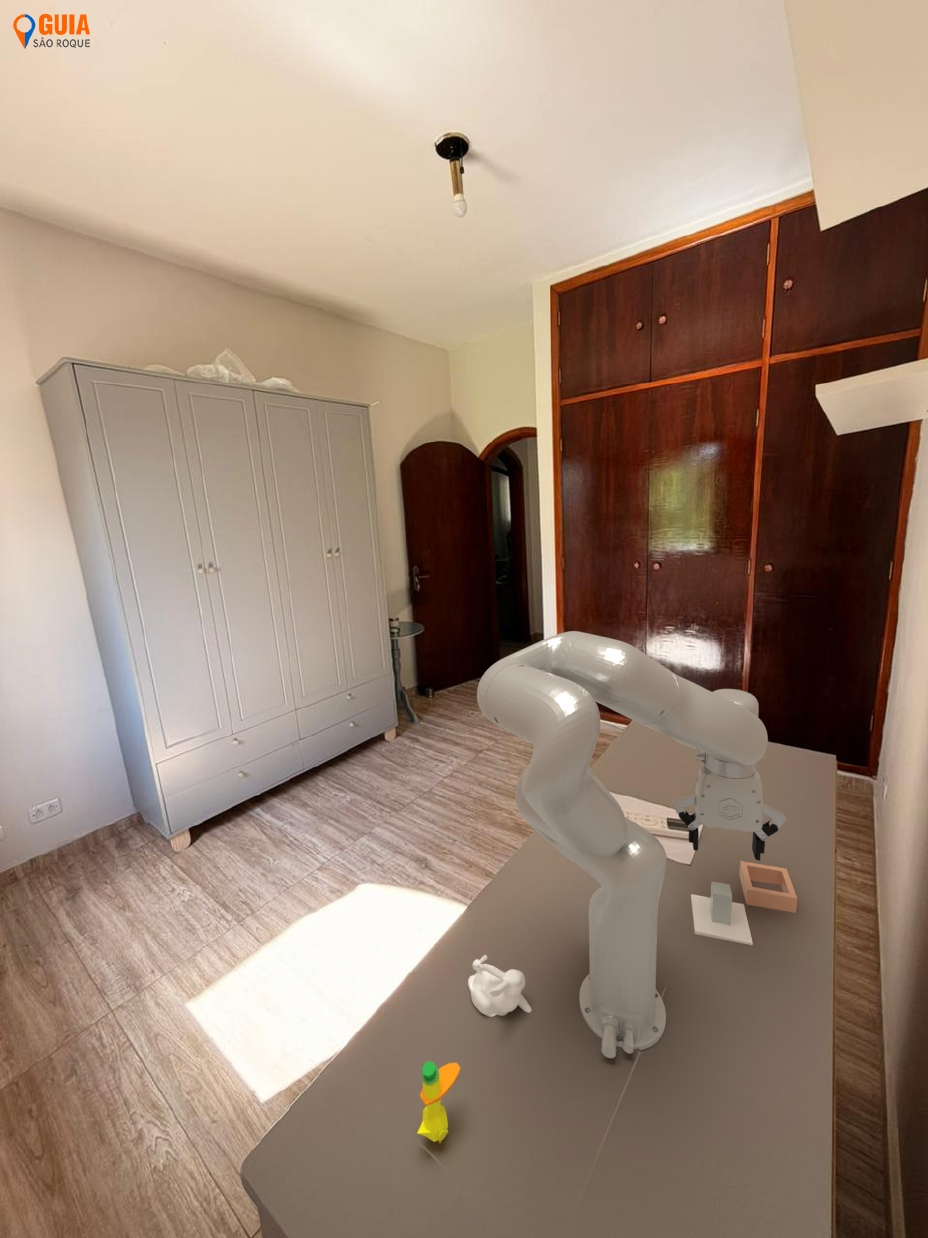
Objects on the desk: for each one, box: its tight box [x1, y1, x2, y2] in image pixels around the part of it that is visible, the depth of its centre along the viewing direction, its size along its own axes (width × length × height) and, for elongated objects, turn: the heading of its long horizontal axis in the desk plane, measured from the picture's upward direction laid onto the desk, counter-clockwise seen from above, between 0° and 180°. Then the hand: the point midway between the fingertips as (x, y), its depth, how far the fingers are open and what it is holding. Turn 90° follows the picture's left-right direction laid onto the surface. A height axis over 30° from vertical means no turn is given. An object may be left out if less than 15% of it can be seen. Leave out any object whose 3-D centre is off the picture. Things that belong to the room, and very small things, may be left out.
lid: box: [690, 881, 754, 946], centre depth 90 cm, size 9×9×7 cm
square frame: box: [738, 860, 798, 914], centre depth 96 cm, size 8×8×4 cm
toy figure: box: [416, 1060, 461, 1144], centre depth 61 cm, size 7×4×12 cm, turn 130°
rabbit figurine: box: [467, 954, 532, 1018], centre depth 77 cm, size 12×8×10 cm, turn 52°
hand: (724, 850), depth 88 cm, fingers open, 9 cm apart
